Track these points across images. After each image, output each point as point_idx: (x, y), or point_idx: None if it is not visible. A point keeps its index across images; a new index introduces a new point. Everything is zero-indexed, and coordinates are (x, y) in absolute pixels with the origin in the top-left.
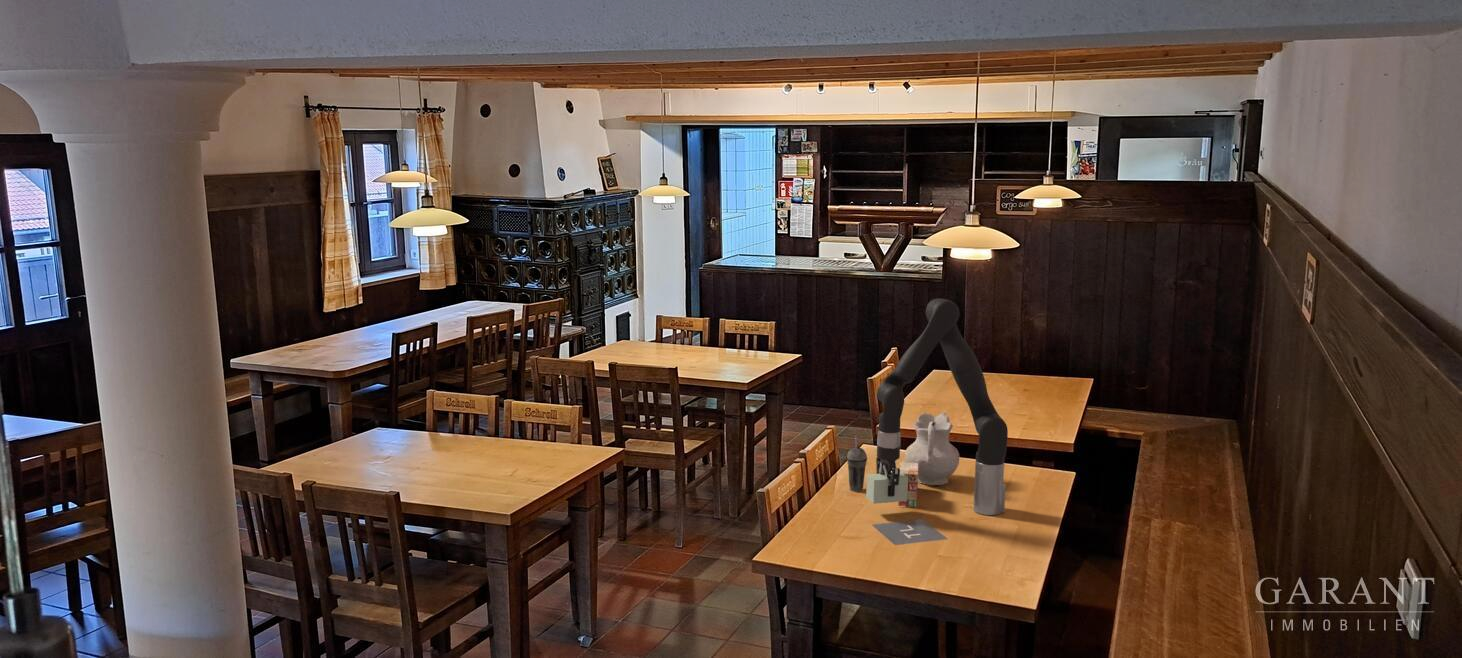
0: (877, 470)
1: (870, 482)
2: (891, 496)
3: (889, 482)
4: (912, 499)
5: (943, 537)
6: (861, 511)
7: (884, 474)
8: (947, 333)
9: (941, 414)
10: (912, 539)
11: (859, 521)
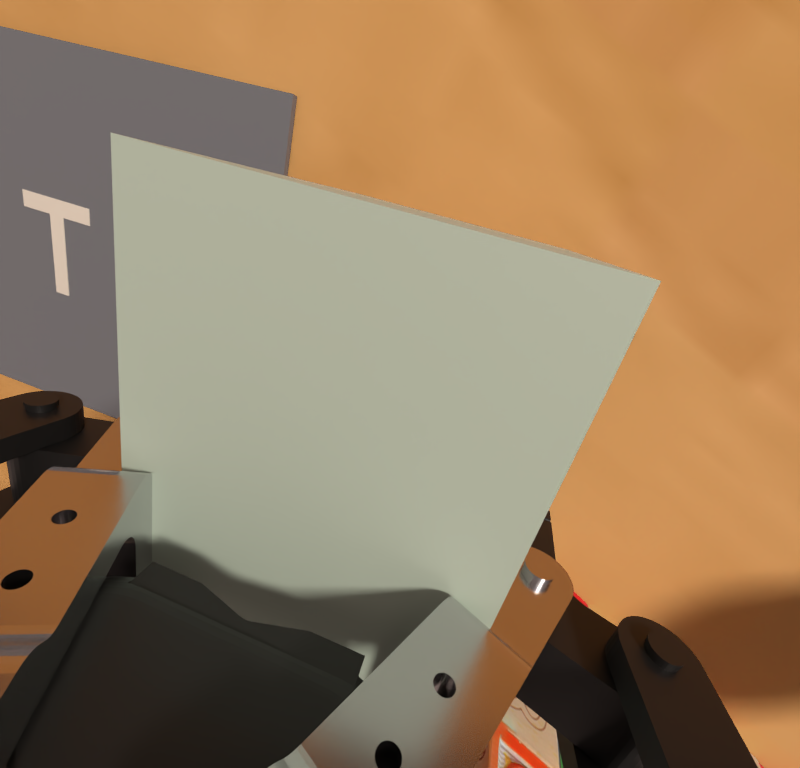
0: (683, 733)
1: (392, 206)
2: None
3: (104, 434)
4: None
5: (11, 366)
6: (606, 236)
7: (389, 636)
8: None
9: None
10: (2, 194)
11: (418, 52)
